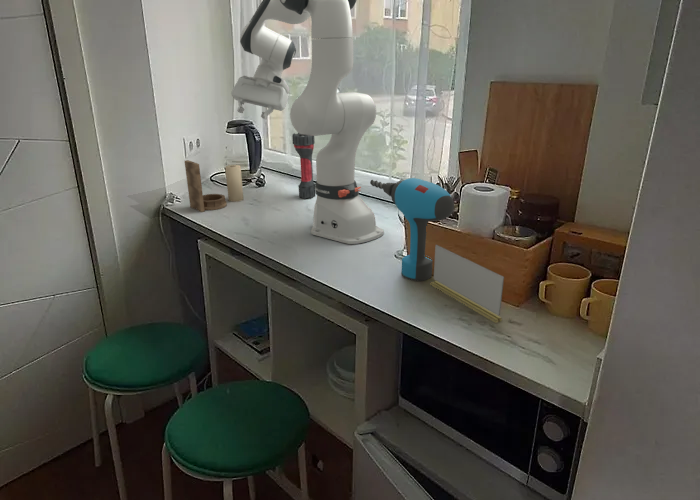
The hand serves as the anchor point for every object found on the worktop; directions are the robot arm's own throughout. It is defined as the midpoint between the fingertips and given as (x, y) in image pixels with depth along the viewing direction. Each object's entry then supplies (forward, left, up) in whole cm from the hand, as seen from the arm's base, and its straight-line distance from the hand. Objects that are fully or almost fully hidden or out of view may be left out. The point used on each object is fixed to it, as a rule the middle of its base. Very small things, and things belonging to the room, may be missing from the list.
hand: (251, 115), depth 180 cm
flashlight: (-15, -11, -29) cm, 34 cm away
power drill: (-82, +10, -29) cm, 88 cm away
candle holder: (-1, +19, -29) cm, 35 cm away
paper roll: (0, +9, -29) cm, 30 cm away
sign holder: (-102, +13, -29) cm, 107 cm away
